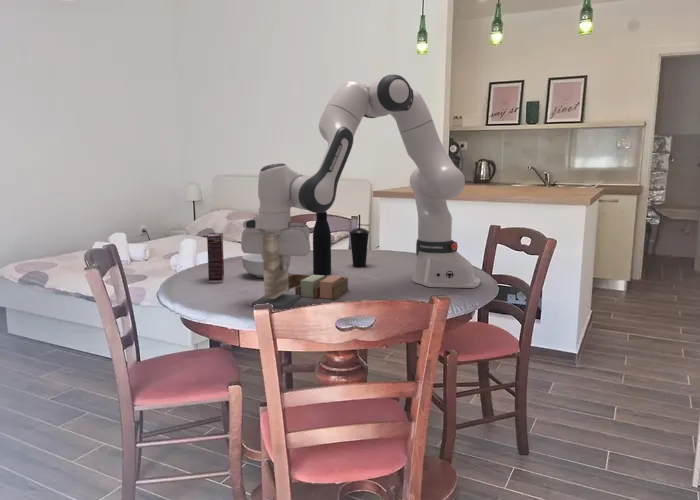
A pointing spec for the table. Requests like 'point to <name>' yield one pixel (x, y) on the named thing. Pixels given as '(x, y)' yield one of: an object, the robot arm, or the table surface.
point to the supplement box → (215, 257)
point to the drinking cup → (359, 246)
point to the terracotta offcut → (328, 286)
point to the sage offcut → (310, 285)
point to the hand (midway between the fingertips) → (276, 269)
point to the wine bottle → (321, 245)
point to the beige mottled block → (273, 268)
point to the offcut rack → (337, 289)
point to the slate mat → (278, 301)
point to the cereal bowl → (255, 264)
